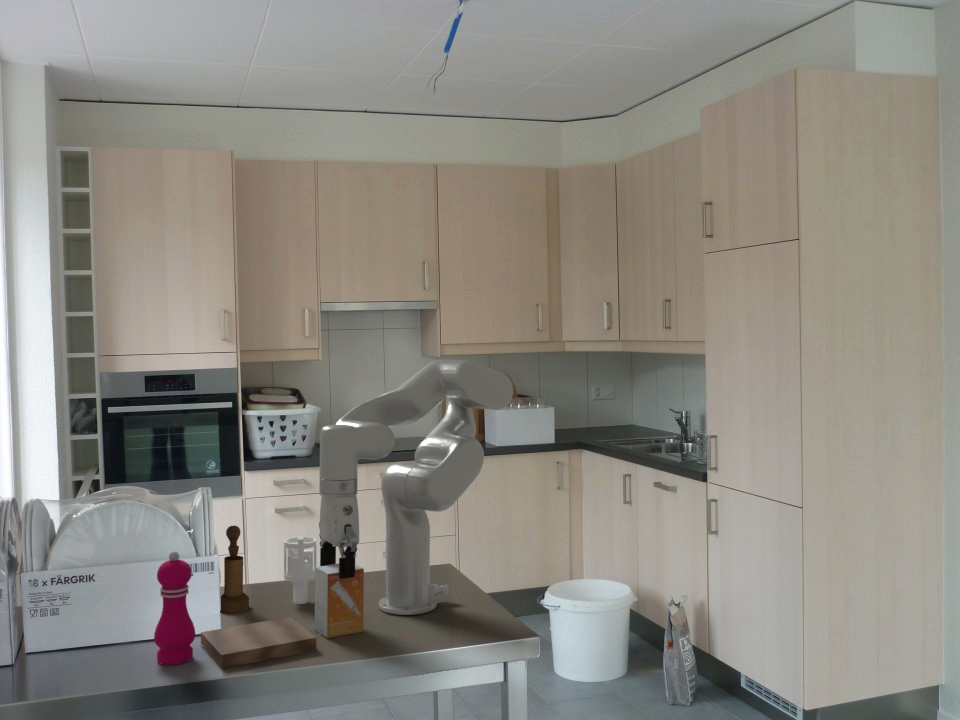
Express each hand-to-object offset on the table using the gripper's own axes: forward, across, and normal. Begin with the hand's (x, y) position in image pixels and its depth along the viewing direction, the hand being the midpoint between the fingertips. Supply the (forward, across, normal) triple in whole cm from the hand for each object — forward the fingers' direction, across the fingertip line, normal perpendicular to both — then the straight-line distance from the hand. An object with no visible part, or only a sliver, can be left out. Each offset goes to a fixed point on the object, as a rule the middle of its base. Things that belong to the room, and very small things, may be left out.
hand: (337, 571), depth 185 cm
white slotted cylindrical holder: (+12, +22, -1) cm, 25 cm away
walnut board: (+12, -1, +16) cm, 20 cm away
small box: (+12, 0, -1) cm, 12 cm away
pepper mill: (+13, +1, +31) cm, 34 cm away
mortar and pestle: (+12, +25, +13) cm, 31 cm away
